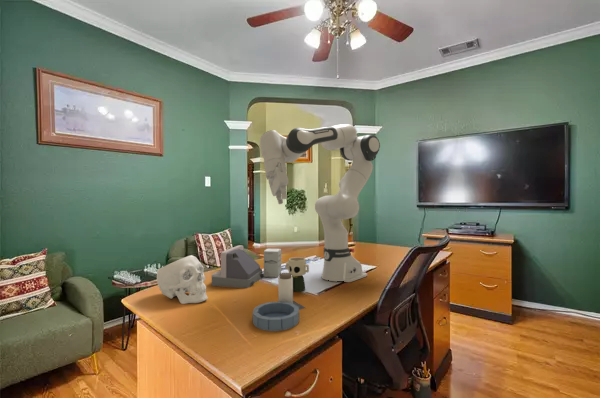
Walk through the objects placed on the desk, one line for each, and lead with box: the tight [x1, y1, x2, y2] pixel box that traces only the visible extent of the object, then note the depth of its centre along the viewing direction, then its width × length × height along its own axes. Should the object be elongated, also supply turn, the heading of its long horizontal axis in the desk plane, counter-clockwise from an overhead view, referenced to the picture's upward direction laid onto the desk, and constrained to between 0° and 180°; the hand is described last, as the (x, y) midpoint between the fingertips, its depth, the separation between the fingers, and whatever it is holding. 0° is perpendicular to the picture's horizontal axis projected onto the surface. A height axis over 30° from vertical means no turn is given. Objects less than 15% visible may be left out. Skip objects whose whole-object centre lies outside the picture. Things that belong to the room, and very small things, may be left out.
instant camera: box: [211, 245, 264, 289], centre depth 131 cm, size 21×21×15 cm
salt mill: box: [277, 272, 294, 303], centre depth 98 cm, size 5×5×11 cm
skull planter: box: [156, 254, 208, 305], centre depth 109 cm, size 14×20×19 cm
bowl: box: [252, 300, 300, 332], centre depth 87 cm, size 14×14×4 cm
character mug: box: [285, 256, 310, 292], centre depth 116 cm, size 11×7×13 cm, turn 59°
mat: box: [293, 300, 306, 311], centre depth 99 cm, size 10×10×1 cm
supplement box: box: [263, 248, 282, 278], centre depth 139 cm, size 7×7×13 cm
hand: (282, 201), depth 114 cm, fingers open, 8 cm apart
